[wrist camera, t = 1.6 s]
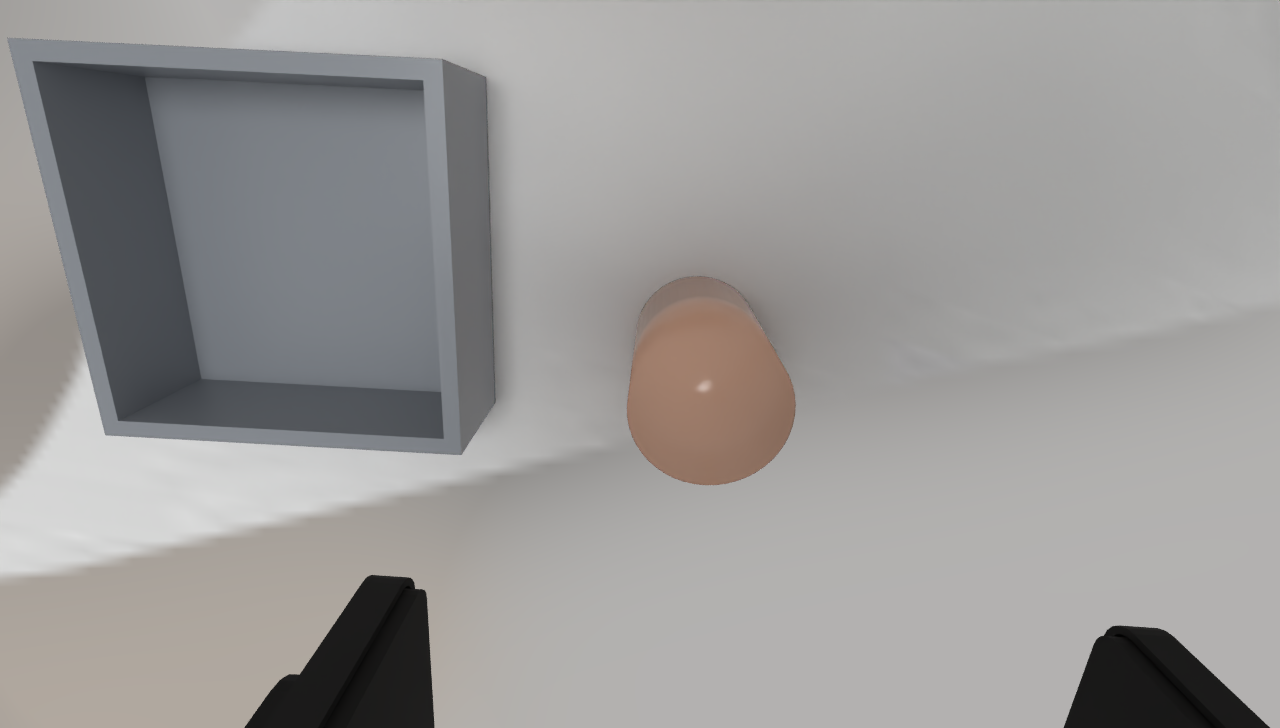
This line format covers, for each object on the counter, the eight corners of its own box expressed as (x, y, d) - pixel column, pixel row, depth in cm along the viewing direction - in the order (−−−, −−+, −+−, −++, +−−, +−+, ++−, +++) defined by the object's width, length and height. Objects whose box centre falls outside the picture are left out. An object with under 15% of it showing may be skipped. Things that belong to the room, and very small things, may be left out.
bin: (485, 77, 23) (441, 59, 19) (495, 402, 28) (461, 455, 23) (137, 60, 24) (6, 37, 19) (199, 386, 28) (105, 434, 23)
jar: (762, 279, 26) (806, 334, 18) (749, 394, 27) (784, 489, 20) (639, 273, 26) (630, 325, 18) (633, 388, 27) (623, 480, 20)
